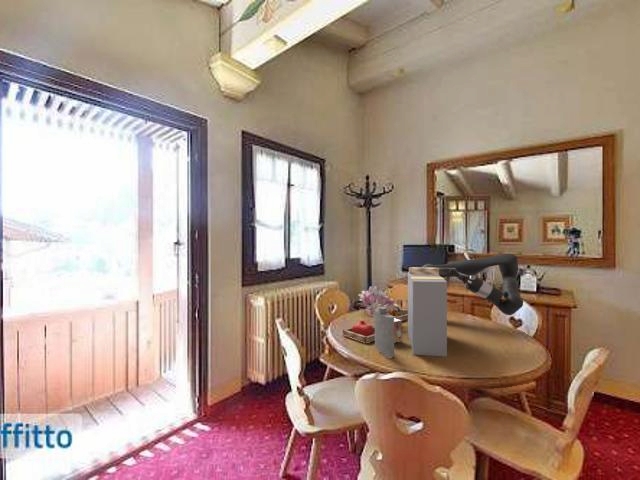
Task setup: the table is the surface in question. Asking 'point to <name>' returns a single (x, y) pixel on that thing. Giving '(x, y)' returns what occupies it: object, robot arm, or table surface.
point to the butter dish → (363, 329)
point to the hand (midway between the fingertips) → (448, 269)
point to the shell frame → (402, 317)
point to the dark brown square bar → (430, 271)
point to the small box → (397, 330)
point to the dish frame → (359, 337)
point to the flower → (380, 298)
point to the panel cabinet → (427, 314)
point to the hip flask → (384, 332)
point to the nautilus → (393, 312)
